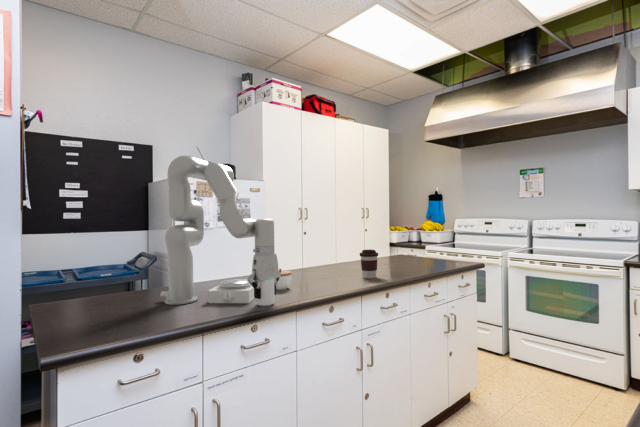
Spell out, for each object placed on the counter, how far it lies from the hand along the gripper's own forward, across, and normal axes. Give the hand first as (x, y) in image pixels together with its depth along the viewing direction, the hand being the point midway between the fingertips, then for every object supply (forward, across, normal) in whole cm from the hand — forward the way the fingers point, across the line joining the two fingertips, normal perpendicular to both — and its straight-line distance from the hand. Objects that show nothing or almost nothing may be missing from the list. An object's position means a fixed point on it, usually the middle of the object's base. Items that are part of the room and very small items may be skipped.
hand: (265, 296), depth 136 cm
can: (+4, 0, 0) cm, 4 cm away
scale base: (+4, 0, +19) cm, 20 cm away
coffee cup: (+3, +72, -1) cm, 73 cm away
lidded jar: (+4, +25, +18) cm, 31 cm away
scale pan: (-2, 0, +19) cm, 19 cm away
